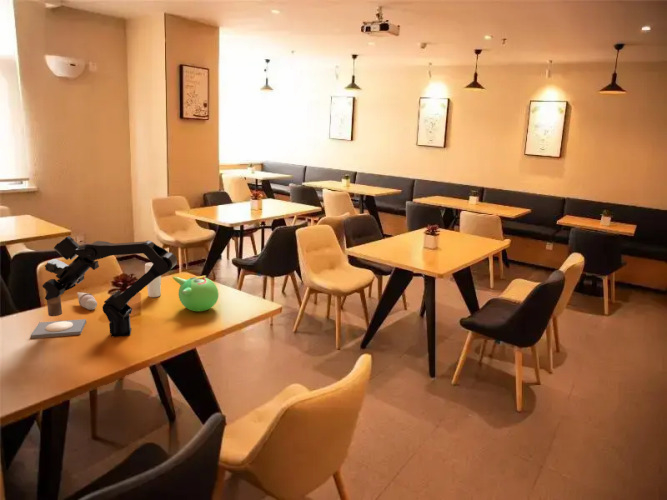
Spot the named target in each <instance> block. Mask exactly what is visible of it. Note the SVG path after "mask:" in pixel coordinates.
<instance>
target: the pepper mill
mask: <svg viewBox="0 0 667 500" xmlns="http://www.w3.org/2000/svg"><path fill="white" fill-rule="evenodd" d="M44 290H45V289H44ZM47 292H48V291H47V290H45V296H46V295H47ZM46 305H47V313H48V315H47V316H48V317H57V316H58V317H59V316H61V315H62V314H63V310H62V299H61V295H60V296H59V297H57V298H55V297H54V298H52V299H49V300H46Z"/></svg>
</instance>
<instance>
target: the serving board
mask: <svg viewBox="0 0 667 500" xmlns="http://www.w3.org/2000/svg"><path fill="white" fill-rule="evenodd" d="M86 324H87V319H86V318H84V319H83V318H82V319H81V318H80V319H69V320H66V319H65V320H54V321H53V320H51V321H43V322H40V321H39V322H38V324H37V325H36V327H35V328H34V329H33V331H32V332H31V334H30V339H39V338H40V339H41V338H52V337H64V336H65V337H67V336H77V335H81V334H82V333H83V330H84V328H85V325H86Z"/></svg>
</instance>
